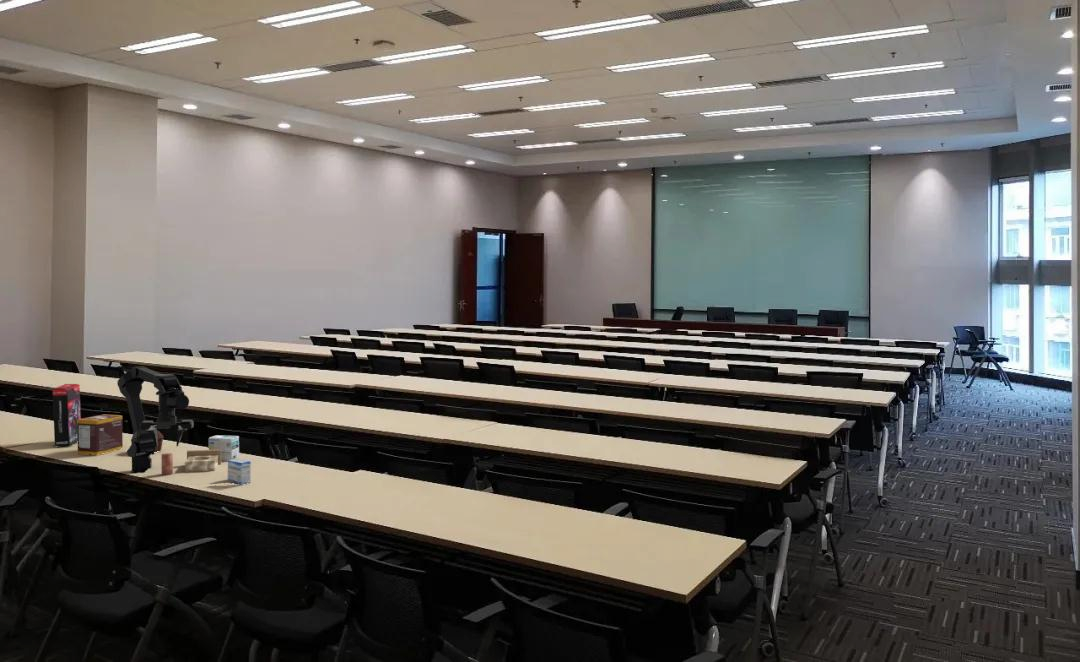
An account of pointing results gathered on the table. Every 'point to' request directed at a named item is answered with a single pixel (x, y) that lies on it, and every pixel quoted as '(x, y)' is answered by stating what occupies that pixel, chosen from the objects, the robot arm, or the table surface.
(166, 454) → the dowel
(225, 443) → the light bulb box
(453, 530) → the table surface
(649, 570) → the table surface
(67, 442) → the graphics card box
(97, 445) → the supplement box
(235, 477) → the medicine box
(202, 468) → the beige ashtray
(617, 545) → the table surface
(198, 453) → the backstop board
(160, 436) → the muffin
